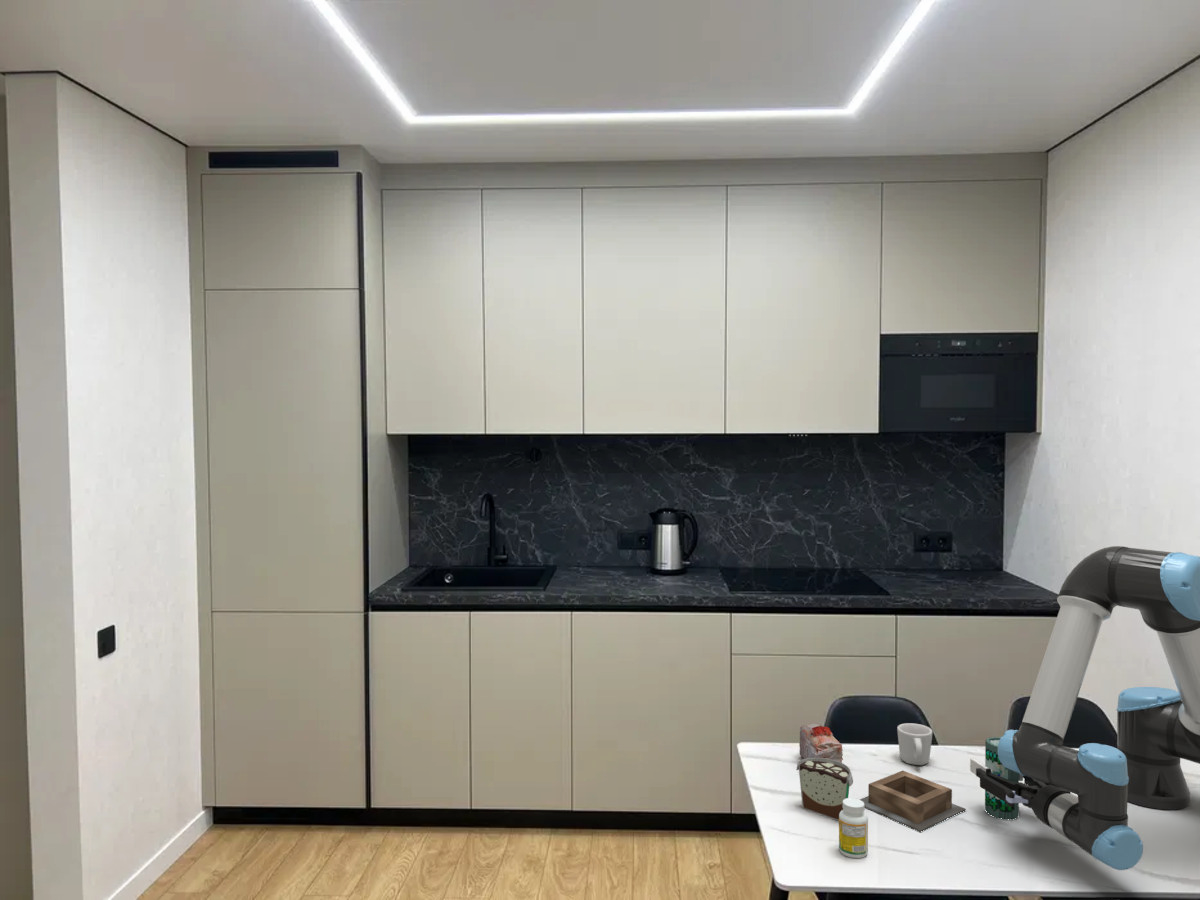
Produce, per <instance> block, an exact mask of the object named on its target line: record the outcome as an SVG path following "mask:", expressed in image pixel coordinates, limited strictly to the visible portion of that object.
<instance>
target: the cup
mask: <svg viewBox="0 0 1200 900" xmlns="http://www.w3.org/2000/svg"><path fill="white" fill-rule="evenodd" d="M896 728H897V729H896V731H897V738H898V739H897V741H898V749H899V756H900V758H901V760H902V761H903V762H904V763H906V764H909V765H913V766H924V765H926V764H927V763H928V762H929V761H930V755H931V748H932V739H933V729H931V728H930V727H929V726H927V725H924V724H919V723H912V722H911V723H909V722H907V723H906V722H905V723H901V724H898V725H897V727H896Z"/></svg>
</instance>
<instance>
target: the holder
mask: <svg viewBox="0 0 1200 900" xmlns="http://www.w3.org/2000/svg"><path fill="white" fill-rule="evenodd" d="M867 787H868V795H867V796H865V797H863V798H860V799H859V800H861V801H863V802H864V808H865V809H866V810H869V811H872V812H873V813H875V814H878V815H880V816H882V815H883V817H885V818H887V817H888V818H887V819H889V818H890V819H889V820H891V819H893V820H892V821H894V820H895V821H894V822H896V821H897V822H896V823H898V822H899V823H898V824H900V823H902V824H901V825H903V824H904V825H903V826H905V825H906V826H905V827H907V826H908V827H907V828H909V827H911V828H910V829H911V830H914V829H915V831H916V830H917V831H916V832H918V831H919V832H918V833H922V832H924V831H927V830H928V828H929V829H930V827H931V828H933V827H934V825H935V824H937V823H939V822H941V823H943V822H945V821H947V820H946V819H947V818H950V817H952V816H954V815H956V814H958V813H960V812H962V813H964V812H966V811H967V809H966V808H965V807H963V806H960V805H957V804H955V803H953V801H952V800H953V789H952V788H949V787H947V786H944V785H942V784H939V783H937V782H935V781H932V780H929V779H926V778H923V777H921V776H918V775H916V774H913V773H910V772H907V771H906V770H901V771H898V772H895V773H892V774H891V775H888V776H885V777H883V778H880V779H877V780H876V781H872V782H871V783H868V786H867ZM965 810H966V811H965ZM963 811H964V812H963ZM960 814H961V813H960ZM958 815H959V814H958ZM956 816H957V815H956ZM954 817H955V816H954ZM952 818H953V817H952ZM950 819H951V818H950ZM944 820H945V821H944ZM942 821H943V822H942ZM939 824H940V823H939ZM937 825H938V824H937ZM932 826H933V827H932ZM935 826H936V825H935ZM926 829H927V830H926ZM923 830H924V831H923ZM921 831H922V832H921Z"/></svg>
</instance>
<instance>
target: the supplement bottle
mask: <svg viewBox="0 0 1200 900" xmlns="http://www.w3.org/2000/svg"><path fill="white" fill-rule="evenodd" d="M842 807H843V810H842V811H841V812H840V814H839V821H838V849H839V852H840V853H841V854H842V855H843V856H846V857H848V858H851V859H852V858H853V859H862V858H864V857H866V856H867V855H868V852H869V818H868V817H869V816H868V815H867V814H866V813H865V809H866V808H864V802H863V801H861V800H860V799H858V798H854V797H848V798H846V799H844V800H843V806H842Z"/></svg>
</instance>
